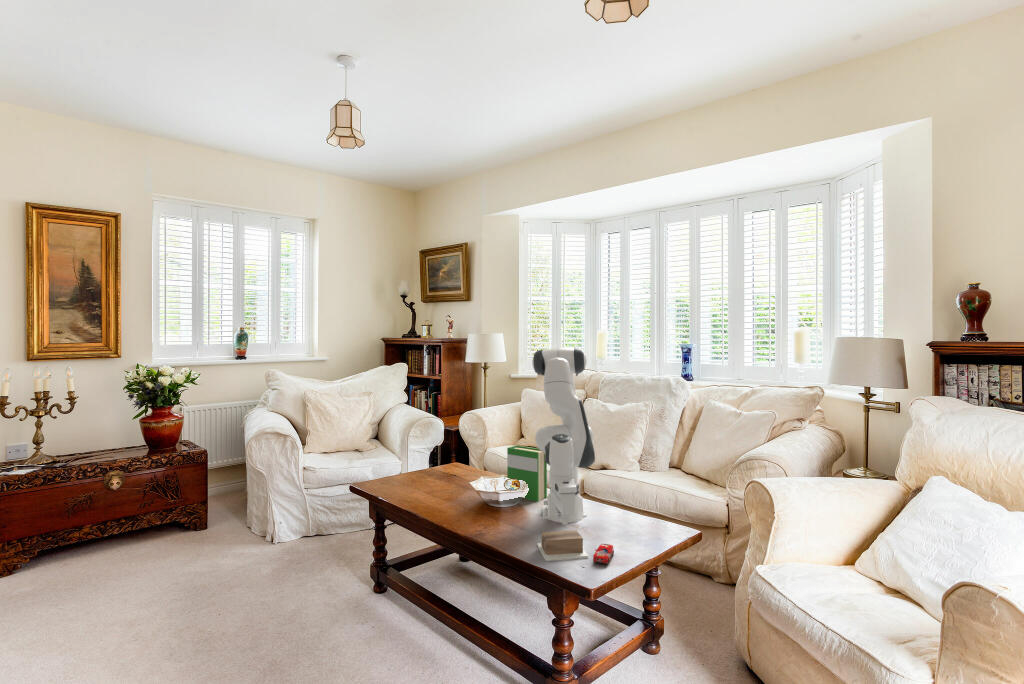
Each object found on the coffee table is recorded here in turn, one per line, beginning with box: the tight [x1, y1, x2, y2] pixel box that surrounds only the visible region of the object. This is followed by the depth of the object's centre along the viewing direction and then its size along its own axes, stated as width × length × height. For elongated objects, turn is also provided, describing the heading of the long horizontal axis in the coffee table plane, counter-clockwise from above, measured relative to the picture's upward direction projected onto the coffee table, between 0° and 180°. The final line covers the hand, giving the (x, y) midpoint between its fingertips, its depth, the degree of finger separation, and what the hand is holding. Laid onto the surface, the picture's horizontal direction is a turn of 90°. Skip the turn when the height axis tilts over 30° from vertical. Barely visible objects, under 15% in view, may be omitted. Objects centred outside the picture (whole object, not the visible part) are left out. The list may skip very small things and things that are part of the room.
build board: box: [536, 542, 589, 562], centre depth 189 cm, size 14×15×1 cm
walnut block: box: [540, 529, 584, 555], centre depth 189 cm, size 8×13×5 cm, turn 99°
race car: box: [592, 543, 615, 565], centre depth 183 cm, size 13×5×4 cm, turn 156°
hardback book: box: [506, 444, 548, 503], centre depth 252 cm, size 18×7×24 cm, turn 51°
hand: (561, 520), depth 189 cm, fingers open, 6 cm apart
